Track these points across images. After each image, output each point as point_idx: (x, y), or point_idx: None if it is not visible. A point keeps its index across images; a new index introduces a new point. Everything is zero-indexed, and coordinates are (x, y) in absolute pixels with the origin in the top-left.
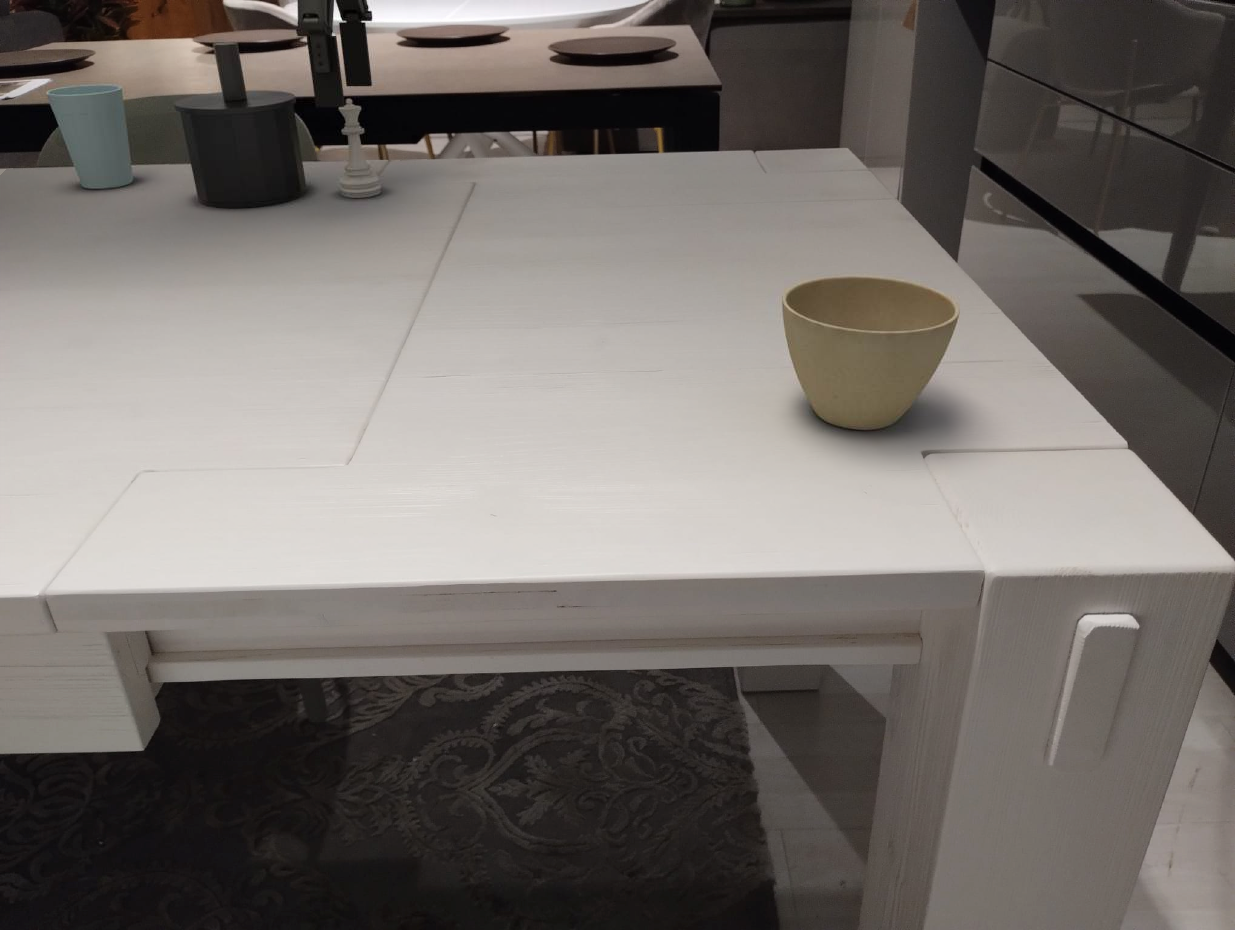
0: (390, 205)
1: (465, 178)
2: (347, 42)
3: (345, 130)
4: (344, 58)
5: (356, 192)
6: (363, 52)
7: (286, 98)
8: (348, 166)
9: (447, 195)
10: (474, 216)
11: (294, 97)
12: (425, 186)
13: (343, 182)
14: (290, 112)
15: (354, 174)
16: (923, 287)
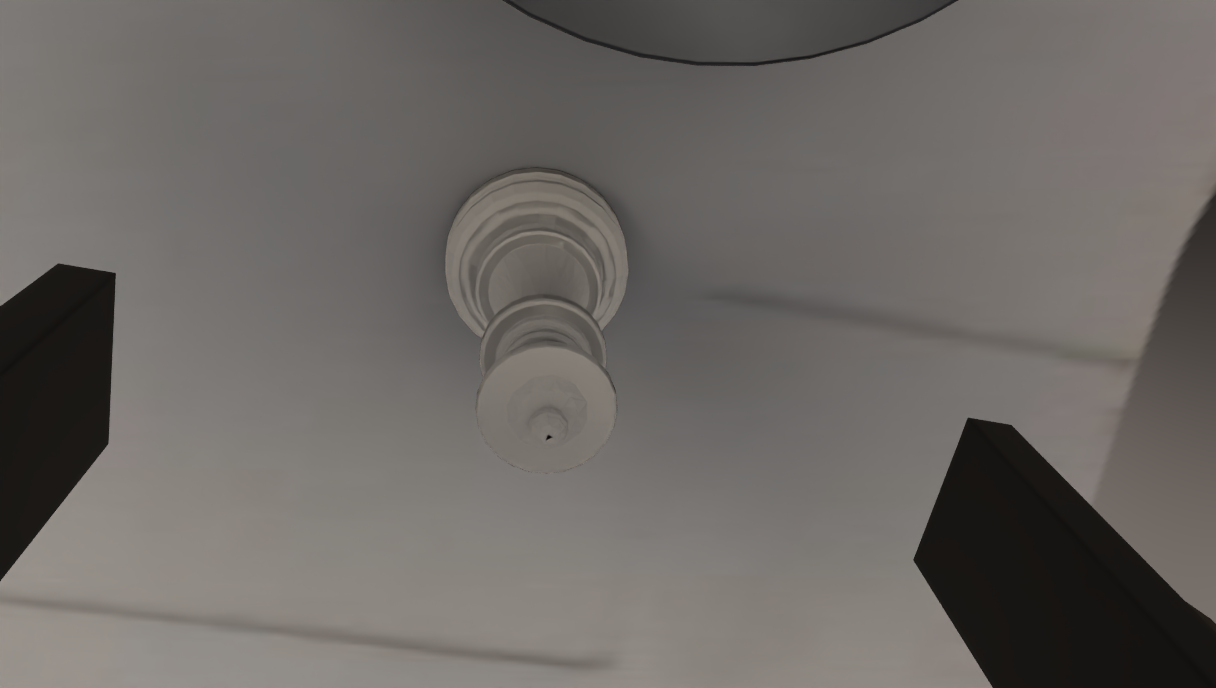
0: (301, 371)
1: (690, 638)
2: (1106, 637)
3: (509, 323)
4: (1050, 526)
5: (448, 245)
6: (1018, 686)
7: (652, 5)
8: (515, 252)
9: (424, 573)
10: (81, 650)
11: (696, 64)
12: (599, 500)
13: (484, 203)
14: None
15: (477, 268)
16: None
